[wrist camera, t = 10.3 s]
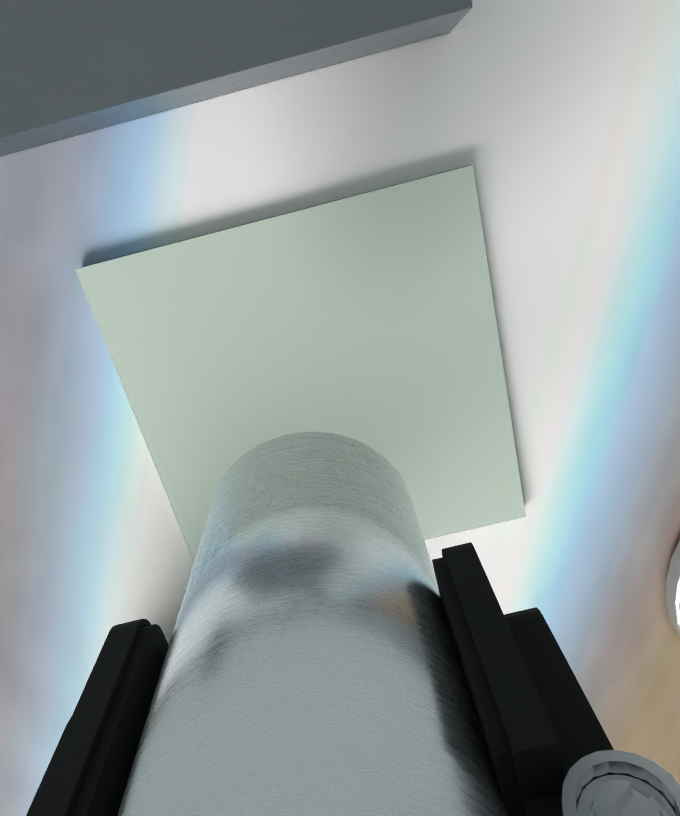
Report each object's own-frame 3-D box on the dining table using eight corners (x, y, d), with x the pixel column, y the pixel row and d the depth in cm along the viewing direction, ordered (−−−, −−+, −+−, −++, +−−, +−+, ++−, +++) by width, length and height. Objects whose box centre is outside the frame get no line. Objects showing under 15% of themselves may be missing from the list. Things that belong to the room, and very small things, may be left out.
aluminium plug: (390, 408, 13) (529, 812, 5) (430, 582, 15) (583, 1096, 7) (181, 460, 14) (-36, 932, 5) (245, 625, 16) (165, 1176, 7)
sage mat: (469, 165, 20) (472, 165, 20) (522, 510, 25) (525, 516, 25) (80, 267, 21) (75, 269, 20) (207, 582, 26) (205, 589, 25)
